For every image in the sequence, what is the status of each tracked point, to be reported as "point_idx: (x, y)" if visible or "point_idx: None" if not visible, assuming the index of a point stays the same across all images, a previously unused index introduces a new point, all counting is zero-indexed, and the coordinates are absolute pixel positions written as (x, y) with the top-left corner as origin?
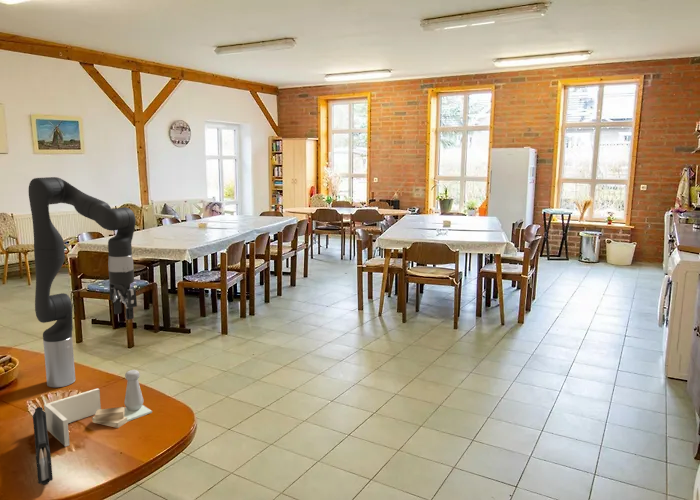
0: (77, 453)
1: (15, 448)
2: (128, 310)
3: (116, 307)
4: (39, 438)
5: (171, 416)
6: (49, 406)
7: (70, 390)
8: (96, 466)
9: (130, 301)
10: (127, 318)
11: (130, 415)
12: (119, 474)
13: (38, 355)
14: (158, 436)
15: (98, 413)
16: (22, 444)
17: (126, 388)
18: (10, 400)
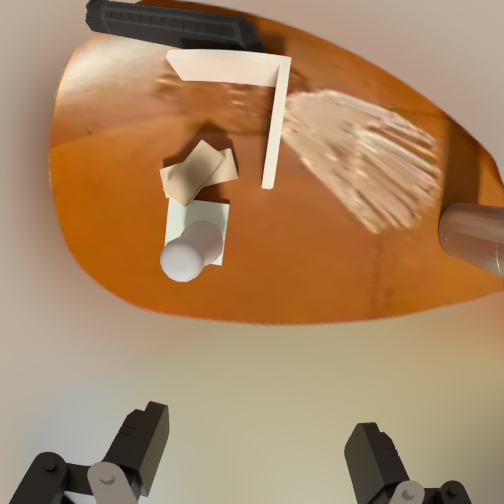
0: (145, 80)
1: (256, 26)
2: (112, 454)
3: (368, 466)
4: (125, 3)
5: (123, 267)
6: (268, 58)
7: (416, 216)
8: (91, 90)
9: (23, 495)
10: (149, 405)
11: (181, 214)
12: (55, 108)
13: None
14: (83, 203)
15: (202, 148)
16: (260, 36)
17: (202, 236)
18: (454, 127)
